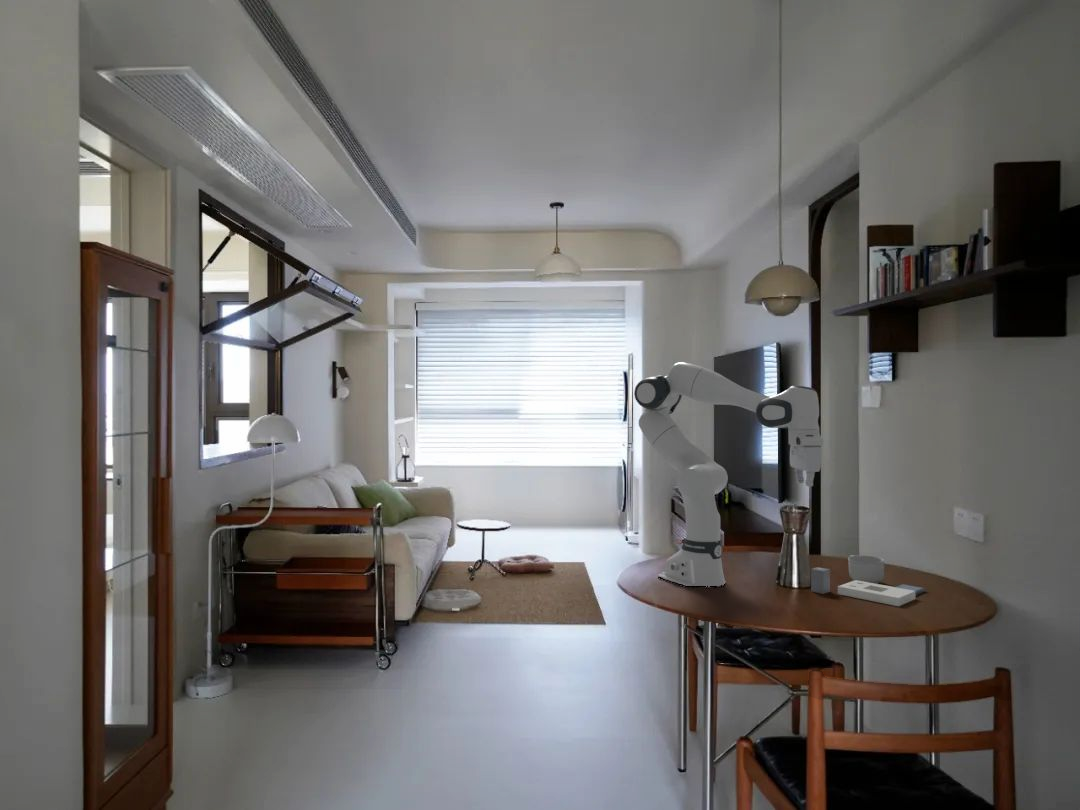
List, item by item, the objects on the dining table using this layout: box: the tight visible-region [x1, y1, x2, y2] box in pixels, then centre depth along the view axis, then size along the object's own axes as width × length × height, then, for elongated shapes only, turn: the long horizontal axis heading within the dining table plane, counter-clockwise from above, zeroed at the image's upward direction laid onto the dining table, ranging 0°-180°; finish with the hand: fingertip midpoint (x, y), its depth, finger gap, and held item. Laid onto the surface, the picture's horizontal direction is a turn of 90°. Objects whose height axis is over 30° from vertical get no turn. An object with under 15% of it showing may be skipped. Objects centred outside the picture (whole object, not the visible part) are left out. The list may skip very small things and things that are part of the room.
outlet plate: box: [837, 580, 916, 607], centre depth 214 cm, size 18×12×2 cm, turn 41°
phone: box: [895, 583, 926, 597], centre depth 219 cm, size 7×11×1 cm, turn 131°
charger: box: [810, 566, 831, 595], centre depth 220 cm, size 4×4×7 cm
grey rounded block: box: [847, 554, 885, 584], centre depth 233 cm, size 14×11×8 cm
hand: (804, 484), depth 214 cm, fingers open, 8 cm apart
